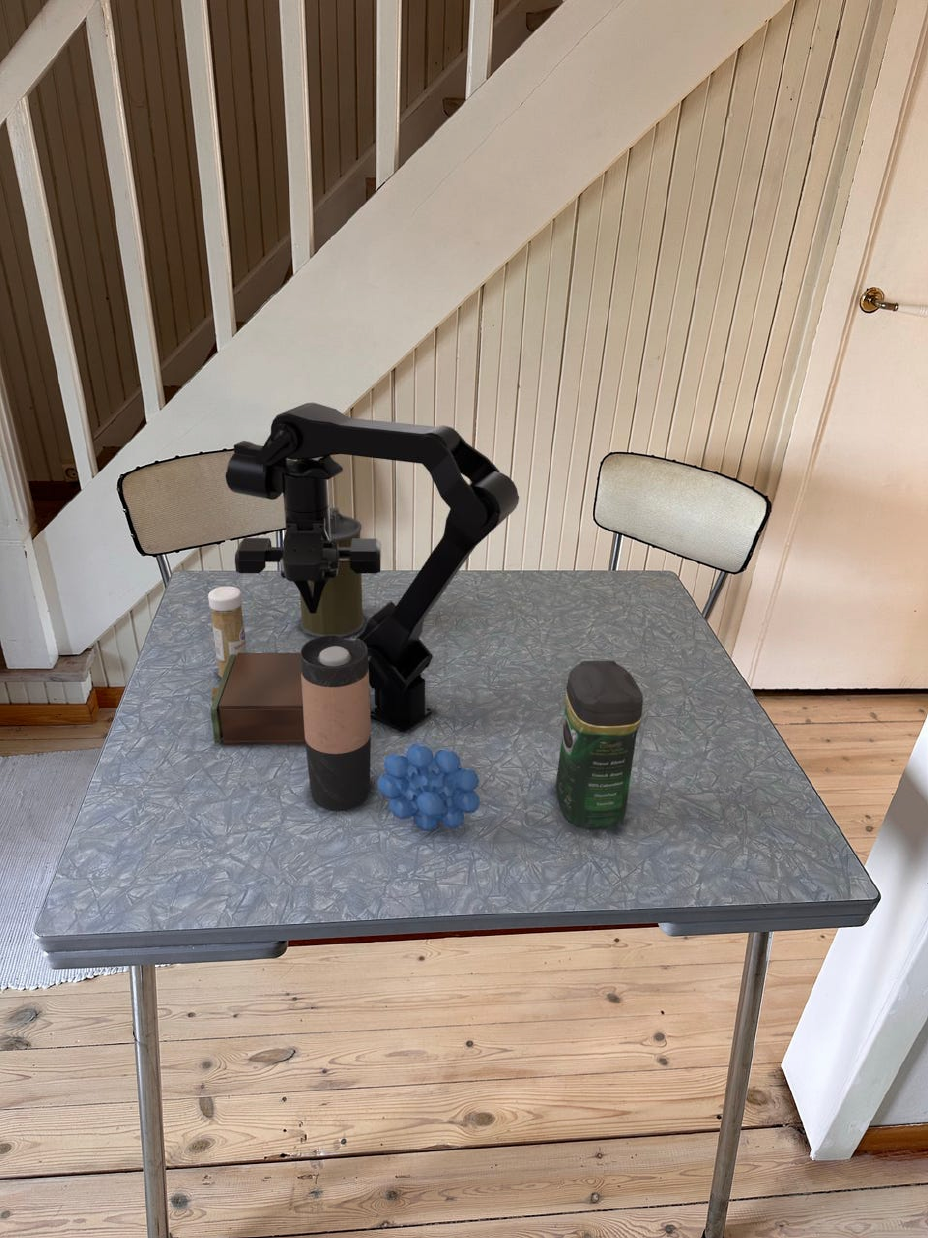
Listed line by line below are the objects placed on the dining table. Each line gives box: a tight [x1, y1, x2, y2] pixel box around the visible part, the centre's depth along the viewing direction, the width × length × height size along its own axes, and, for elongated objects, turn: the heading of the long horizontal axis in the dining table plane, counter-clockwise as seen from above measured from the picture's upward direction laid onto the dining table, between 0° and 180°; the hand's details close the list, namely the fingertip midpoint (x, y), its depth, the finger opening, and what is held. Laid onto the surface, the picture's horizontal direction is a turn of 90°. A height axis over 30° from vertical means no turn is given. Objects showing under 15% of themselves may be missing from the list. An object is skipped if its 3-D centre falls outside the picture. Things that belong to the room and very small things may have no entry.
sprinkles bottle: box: [207, 586, 248, 679], centre depth 122 cm, size 5×5×14 cm
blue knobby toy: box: [376, 743, 481, 832], centre depth 93 cm, size 12×7×12 cm, turn 93°
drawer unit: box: [219, 652, 306, 746], centre depth 114 cm, size 12×13×6 cm
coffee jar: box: [555, 659, 644, 831], centre depth 97 cm, size 10×8×19 cm
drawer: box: [209, 654, 236, 744], centre depth 114 cm, size 13×14×5 cm
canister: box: [299, 507, 365, 639], centre depth 135 cm, size 11×10×20 cm
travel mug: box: [299, 634, 372, 812], centre depth 98 cm, size 8×8×20 cm
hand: (313, 612), depth 115 cm, fingers closed
